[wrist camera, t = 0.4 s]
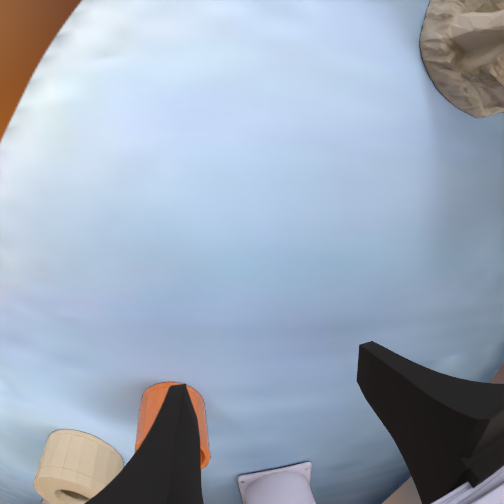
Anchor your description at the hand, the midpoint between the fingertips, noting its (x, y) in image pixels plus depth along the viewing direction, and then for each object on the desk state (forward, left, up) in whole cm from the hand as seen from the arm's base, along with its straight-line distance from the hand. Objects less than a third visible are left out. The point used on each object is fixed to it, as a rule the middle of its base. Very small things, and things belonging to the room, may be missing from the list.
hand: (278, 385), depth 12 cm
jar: (-17, +18, -10) cm, 26 cm away
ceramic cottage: (+18, -23, -10) cm, 31 cm away
